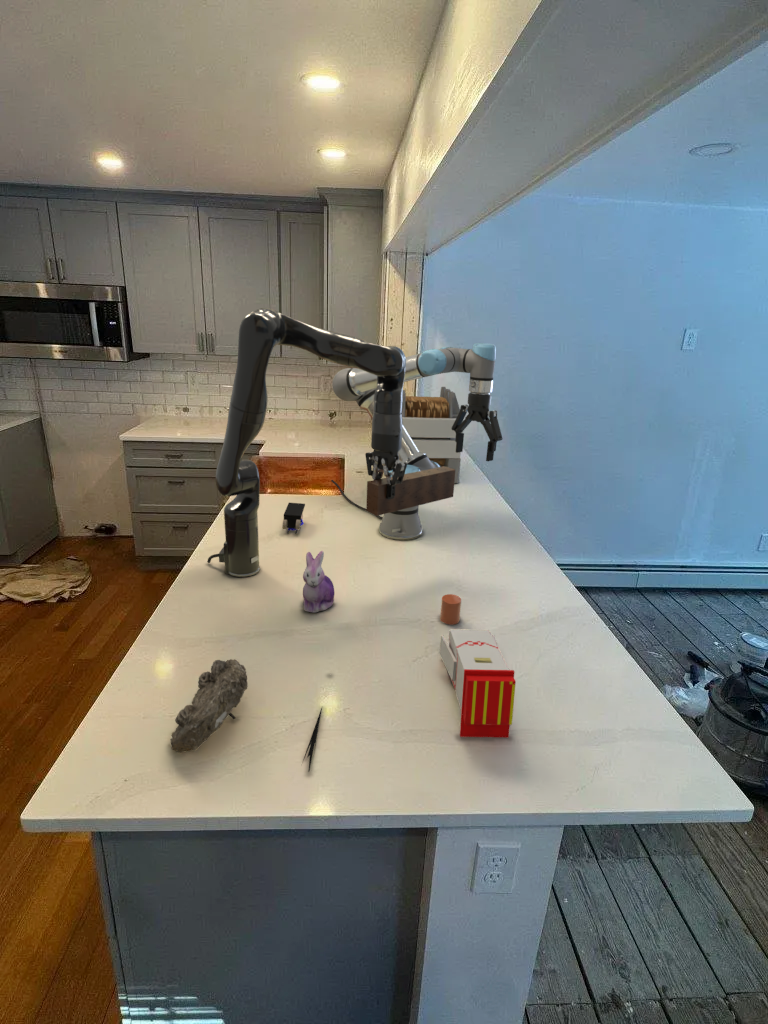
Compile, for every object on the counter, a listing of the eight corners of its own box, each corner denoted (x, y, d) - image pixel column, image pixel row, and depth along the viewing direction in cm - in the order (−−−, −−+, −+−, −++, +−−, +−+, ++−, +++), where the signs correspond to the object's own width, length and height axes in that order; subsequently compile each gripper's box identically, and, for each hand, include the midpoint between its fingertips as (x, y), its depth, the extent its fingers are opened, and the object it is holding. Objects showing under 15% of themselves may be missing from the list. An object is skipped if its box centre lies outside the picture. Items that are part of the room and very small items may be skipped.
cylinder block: (435, 618, 146) (437, 597, 144) (449, 612, 149) (451, 592, 147) (450, 626, 143) (452, 605, 141) (463, 620, 146) (465, 599, 144)
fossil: (195, 660, 117) (247, 628, 112) (227, 691, 120) (279, 661, 115) (146, 746, 98) (206, 711, 93) (185, 779, 101) (245, 748, 96)
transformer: (381, 463, 289) (385, 382, 275) (444, 464, 292) (450, 384, 279) (389, 482, 257) (393, 392, 243) (459, 483, 261) (467, 394, 247)
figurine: (308, 617, 144) (307, 563, 139) (294, 599, 152) (294, 548, 147) (342, 610, 148) (343, 557, 143) (327, 592, 156) (328, 542, 151)
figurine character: (301, 540, 194) (306, 519, 208) (300, 520, 191) (305, 501, 204) (281, 539, 194) (287, 519, 207) (280, 519, 191) (287, 500, 204)
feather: (331, 679, 122) (336, 673, 122) (307, 777, 96) (313, 769, 95) (324, 675, 122) (329, 669, 121) (298, 772, 95) (304, 764, 95)
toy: (489, 613, 130) (525, 677, 101) (485, 667, 133) (518, 744, 104) (437, 612, 130) (457, 676, 101) (434, 666, 133) (453, 743, 103)
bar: (376, 515, 143) (378, 485, 141) (366, 511, 146) (367, 481, 144) (453, 496, 160) (455, 469, 158) (442, 492, 164) (444, 466, 161)
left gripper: (357, 426, 143) (355, 491, 149) (394, 437, 133) (390, 506, 138) (380, 423, 148) (377, 486, 153) (417, 434, 137) (413, 501, 143)
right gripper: (444, 388, 192) (439, 449, 199) (503, 399, 174) (495, 466, 181) (459, 387, 196) (454, 447, 203) (518, 397, 179) (510, 462, 186)
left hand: (383, 495), depth 146 cm, fingers closed on bar, 4 cm apart
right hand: (473, 456), depth 192 cm, fingers open, 13 cm apart
